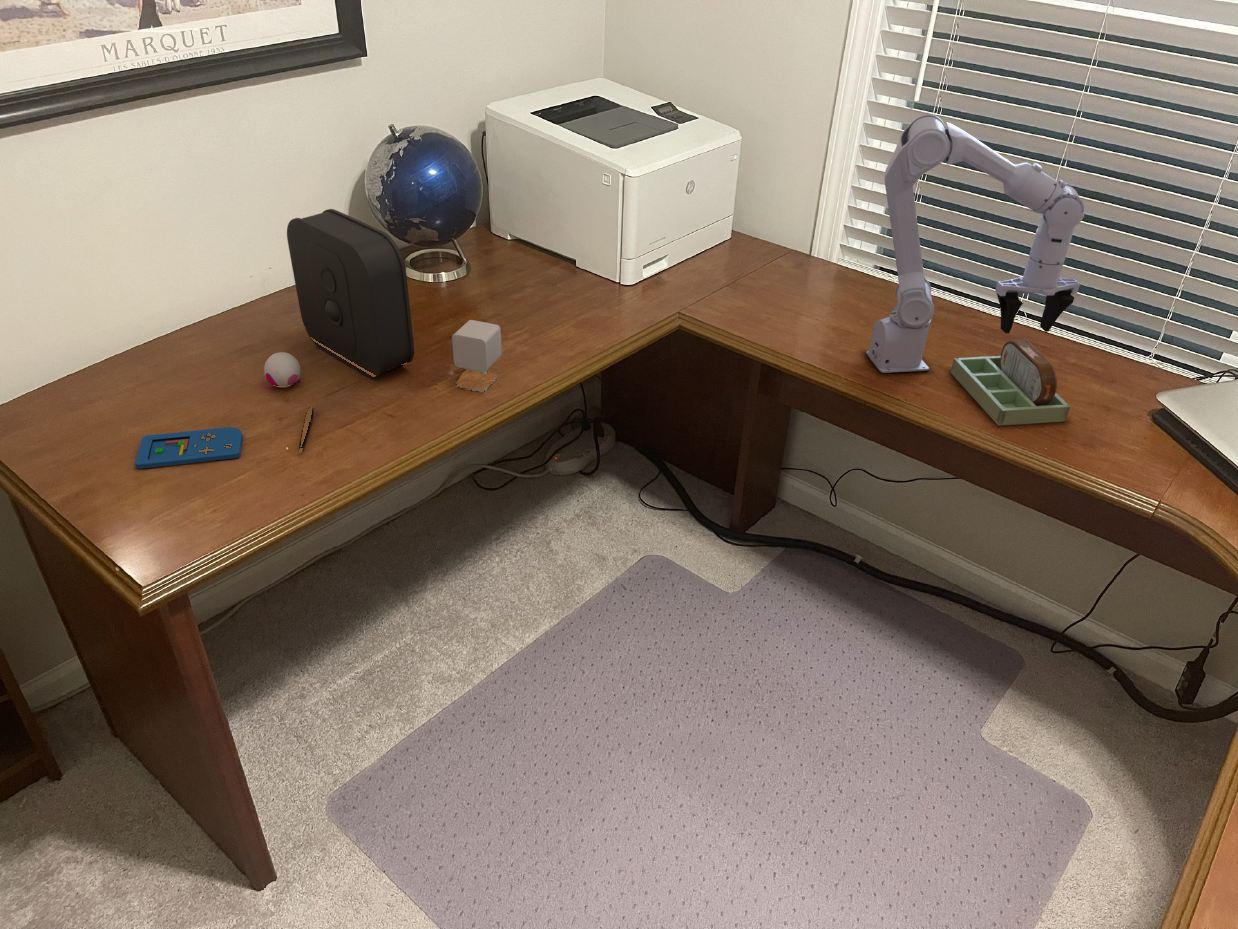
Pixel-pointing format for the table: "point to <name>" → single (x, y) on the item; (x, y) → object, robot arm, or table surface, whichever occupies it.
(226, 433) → the handheld gaming device
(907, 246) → the robot arm
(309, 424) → the fountain pen
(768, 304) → the table surface
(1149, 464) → the table surface
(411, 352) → the speaker
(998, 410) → the organizer
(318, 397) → the table surface
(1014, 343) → the tin
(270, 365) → the stress ball
